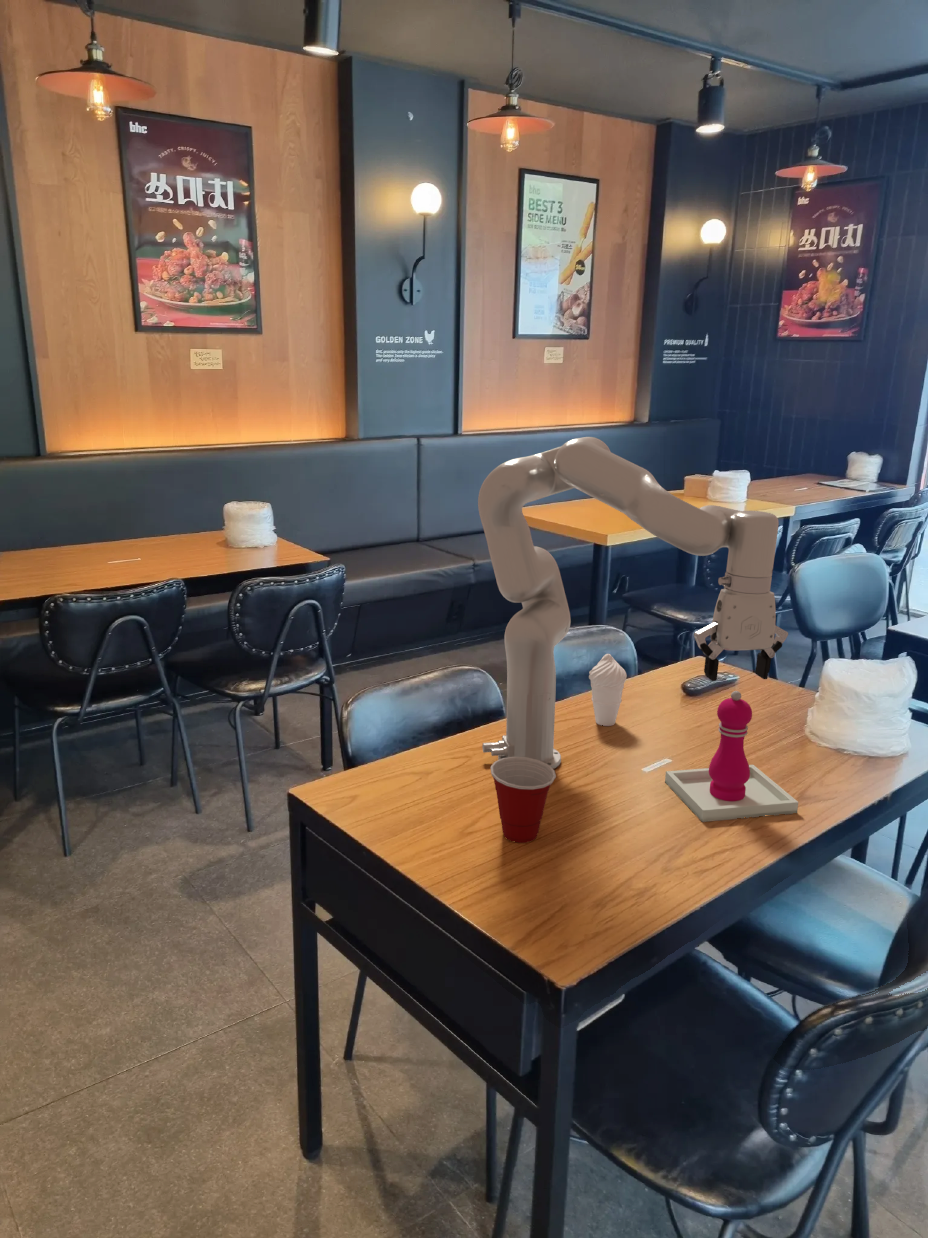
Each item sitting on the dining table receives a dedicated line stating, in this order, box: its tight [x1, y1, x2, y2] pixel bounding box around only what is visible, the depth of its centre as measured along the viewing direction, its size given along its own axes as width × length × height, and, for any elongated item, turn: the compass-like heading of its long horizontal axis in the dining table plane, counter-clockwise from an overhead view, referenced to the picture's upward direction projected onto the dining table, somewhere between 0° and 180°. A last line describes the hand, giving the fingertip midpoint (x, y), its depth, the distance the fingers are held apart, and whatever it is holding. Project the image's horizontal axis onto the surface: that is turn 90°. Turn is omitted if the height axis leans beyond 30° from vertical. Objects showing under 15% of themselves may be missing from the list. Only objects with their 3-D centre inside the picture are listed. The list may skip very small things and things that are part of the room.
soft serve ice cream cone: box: [588, 653, 627, 727], centre depth 194 cm, size 8×8×16 cm
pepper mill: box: [708, 690, 753, 801], centre depth 158 cm, size 7×7×20 cm
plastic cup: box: [490, 757, 557, 844], centre depth 145 cm, size 11×11×12 cm
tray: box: [664, 764, 799, 823], centre depth 160 cm, size 18×16×2 cm
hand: (736, 677), depth 155 cm, fingers open, 9 cm apart
